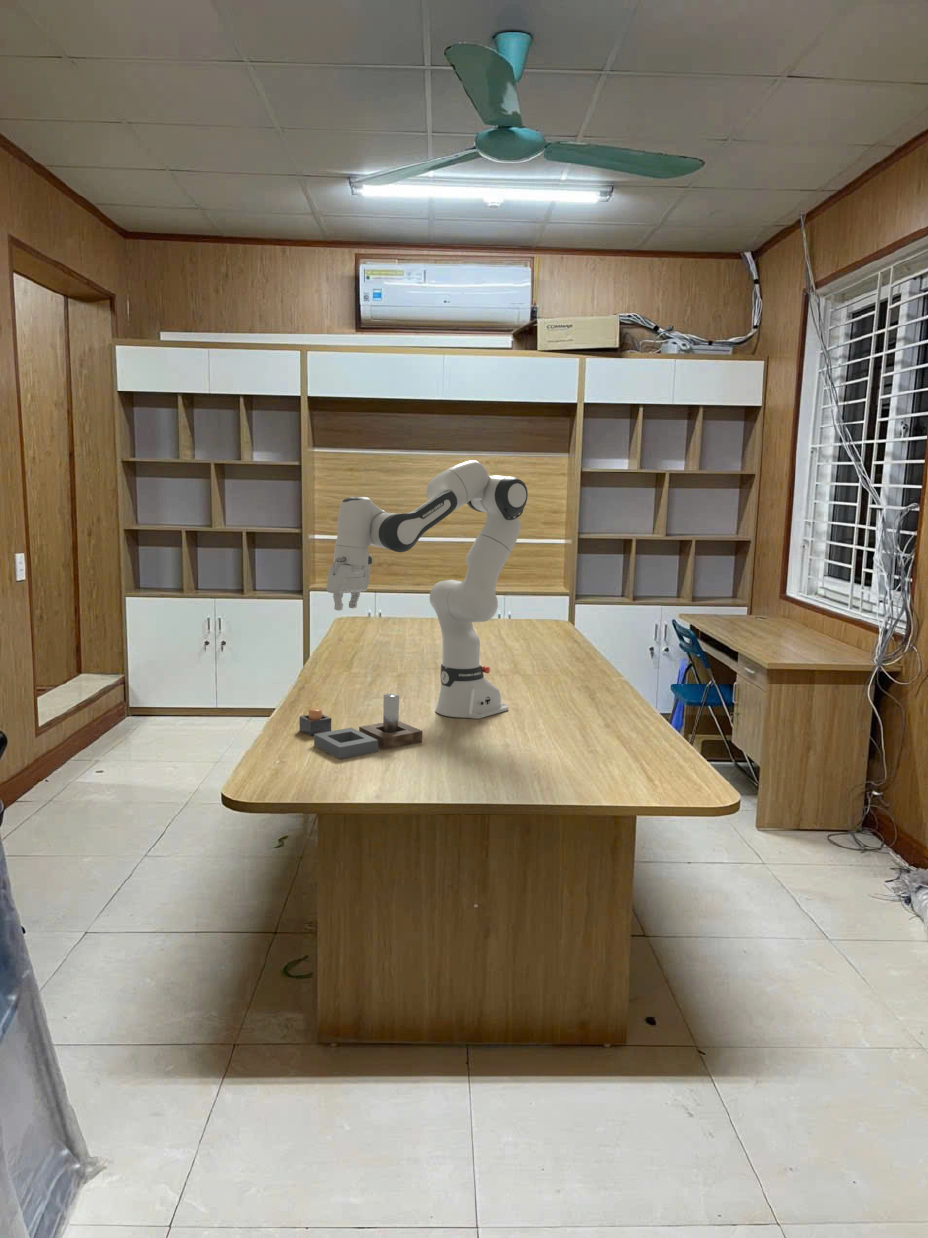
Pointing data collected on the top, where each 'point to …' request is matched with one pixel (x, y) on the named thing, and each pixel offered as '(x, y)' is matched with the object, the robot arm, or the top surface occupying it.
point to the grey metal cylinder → (390, 713)
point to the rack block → (345, 743)
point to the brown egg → (315, 714)
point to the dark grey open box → (315, 725)
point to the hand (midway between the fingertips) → (345, 609)
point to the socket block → (393, 735)
